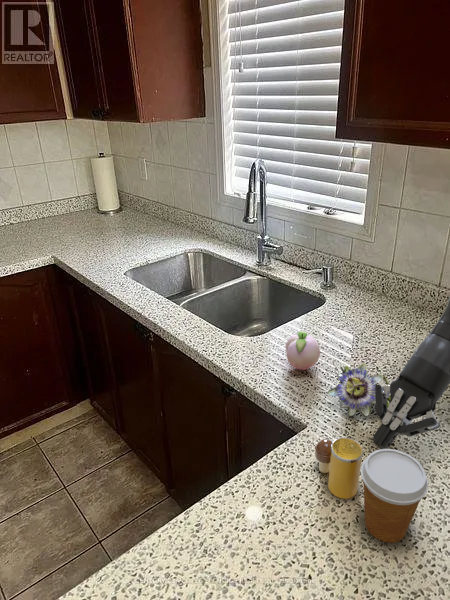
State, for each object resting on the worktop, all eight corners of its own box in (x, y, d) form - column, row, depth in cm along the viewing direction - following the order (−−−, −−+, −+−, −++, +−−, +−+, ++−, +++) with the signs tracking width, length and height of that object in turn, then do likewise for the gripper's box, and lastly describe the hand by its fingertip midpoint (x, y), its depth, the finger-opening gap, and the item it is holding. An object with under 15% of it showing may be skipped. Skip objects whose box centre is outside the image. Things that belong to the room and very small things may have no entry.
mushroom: (337, 465, 83) (340, 438, 80) (331, 480, 80) (334, 452, 77) (317, 458, 85) (319, 431, 82) (311, 472, 82) (312, 445, 79)
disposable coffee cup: (352, 496, 77) (358, 443, 71) (410, 503, 75) (421, 449, 70) (357, 548, 68) (365, 492, 63) (423, 557, 67) (437, 500, 61)
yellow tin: (362, 483, 79) (367, 445, 75) (351, 504, 75) (356, 465, 71) (334, 471, 82) (338, 433, 78) (322, 490, 78) (325, 451, 74)
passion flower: (350, 433, 98) (319, 396, 94) (357, 397, 106) (329, 361, 102) (398, 425, 91) (367, 384, 87) (402, 386, 99) (374, 348, 95)
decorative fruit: (321, 379, 107) (323, 343, 103) (286, 379, 107) (287, 343, 103) (316, 357, 115) (318, 324, 111) (284, 357, 116) (285, 323, 112)
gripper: (474, 391, 76) (417, 475, 76) (409, 357, 87) (358, 430, 86) (462, 376, 72) (401, 465, 71) (394, 341, 82) (340, 419, 81)
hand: (377, 446), depth 79 cm, fingers closed
